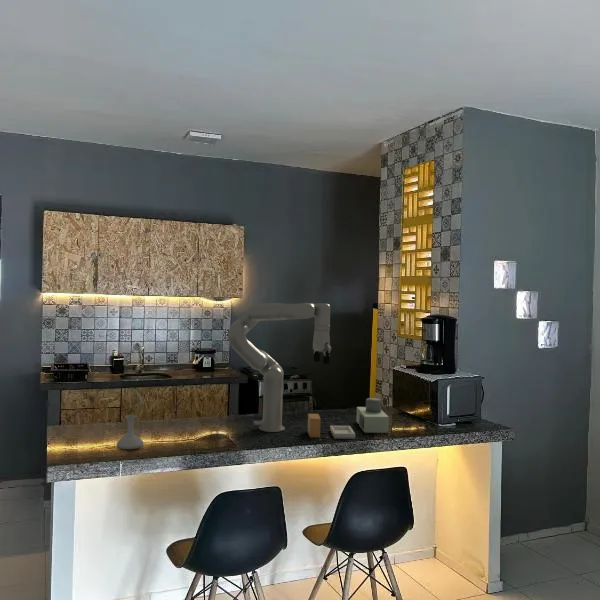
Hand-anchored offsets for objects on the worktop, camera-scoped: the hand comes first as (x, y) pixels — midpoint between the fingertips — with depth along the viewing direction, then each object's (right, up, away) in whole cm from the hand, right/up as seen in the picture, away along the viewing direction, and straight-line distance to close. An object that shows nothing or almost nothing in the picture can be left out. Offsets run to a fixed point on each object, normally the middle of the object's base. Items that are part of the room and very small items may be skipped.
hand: (321, 362), depth 301 cm
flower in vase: (-84, -33, -40) cm, 98 cm away
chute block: (-4, -34, -7) cm, 35 cm away
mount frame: (+10, -35, -6) cm, 36 cm away
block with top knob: (+27, -35, +13) cm, 46 cm away
